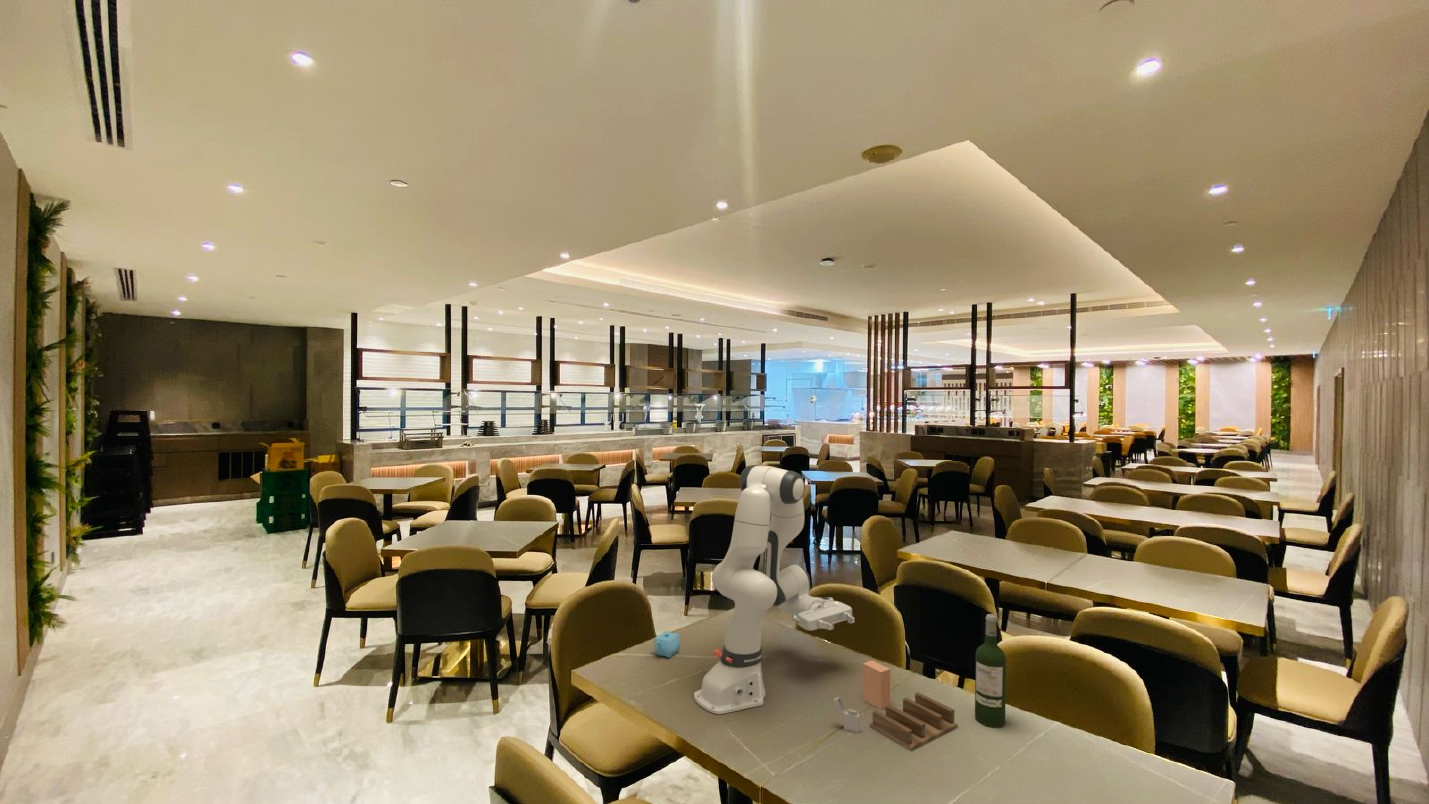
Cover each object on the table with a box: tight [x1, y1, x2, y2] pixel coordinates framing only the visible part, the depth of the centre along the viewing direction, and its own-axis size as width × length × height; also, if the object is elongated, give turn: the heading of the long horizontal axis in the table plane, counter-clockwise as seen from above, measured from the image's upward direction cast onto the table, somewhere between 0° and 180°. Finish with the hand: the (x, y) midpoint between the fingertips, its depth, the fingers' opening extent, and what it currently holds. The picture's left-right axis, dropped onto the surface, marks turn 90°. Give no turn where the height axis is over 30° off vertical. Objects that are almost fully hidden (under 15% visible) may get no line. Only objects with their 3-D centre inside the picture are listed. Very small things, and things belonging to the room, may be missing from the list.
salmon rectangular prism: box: [862, 659, 891, 710], centre depth 183 cm, size 4×7×11 cm, turn 35°
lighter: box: [833, 696, 861, 733], centre depth 169 cm, size 7×2×8 cm, turn 66°
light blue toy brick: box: [654, 630, 681, 659], centre depth 216 cm, size 12×6×8 cm, turn 153°
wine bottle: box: [974, 613, 1007, 729], centre depth 173 cm, size 8×8×30 cm
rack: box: [869, 692, 958, 752], centre depth 170 cm, size 20×14×4 cm
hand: (842, 624), depth 195 cm, fingers open, 8 cm apart
